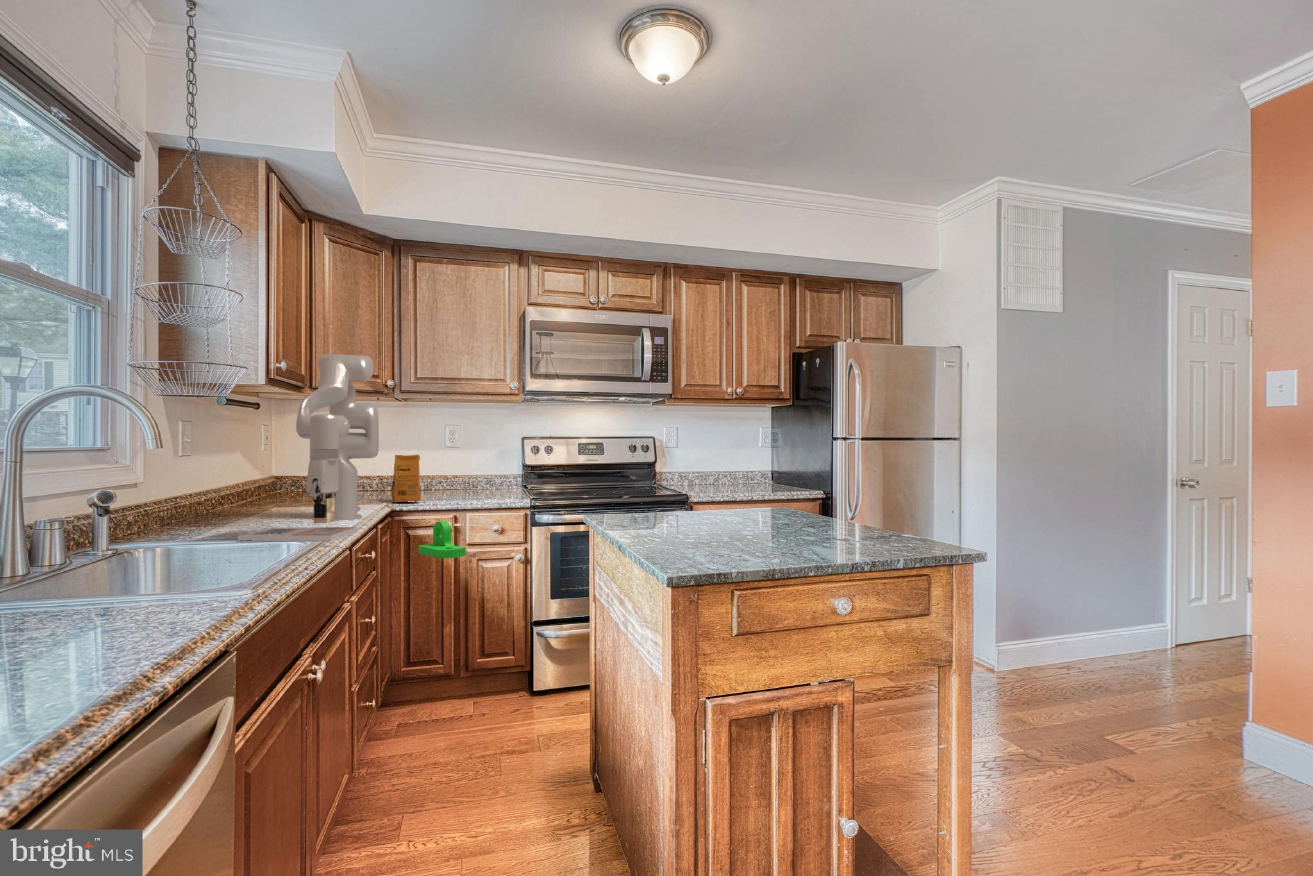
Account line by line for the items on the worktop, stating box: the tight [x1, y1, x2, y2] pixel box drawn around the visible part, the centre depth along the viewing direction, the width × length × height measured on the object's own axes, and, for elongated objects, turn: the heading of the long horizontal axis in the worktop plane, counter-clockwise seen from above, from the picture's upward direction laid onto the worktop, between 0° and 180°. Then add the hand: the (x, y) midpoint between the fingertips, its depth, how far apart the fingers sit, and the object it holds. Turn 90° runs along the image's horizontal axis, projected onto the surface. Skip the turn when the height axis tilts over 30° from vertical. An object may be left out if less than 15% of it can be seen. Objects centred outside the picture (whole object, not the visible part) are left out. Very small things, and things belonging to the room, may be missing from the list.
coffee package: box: [390, 454, 422, 502], centre depth 275 cm, size 10×12×22 cm
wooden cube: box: [313, 498, 335, 524], centre depth 178 cm, size 4×4×7 cm
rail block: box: [237, 526, 358, 542], centre depth 177 cm, size 16×26×2 cm, turn 92°
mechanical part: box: [417, 520, 466, 560], centre depth 151 cm, size 12×6×8 cm, turn 50°
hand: (324, 516), depth 178 cm, fingers closed on wooden cube, 4 cm apart
